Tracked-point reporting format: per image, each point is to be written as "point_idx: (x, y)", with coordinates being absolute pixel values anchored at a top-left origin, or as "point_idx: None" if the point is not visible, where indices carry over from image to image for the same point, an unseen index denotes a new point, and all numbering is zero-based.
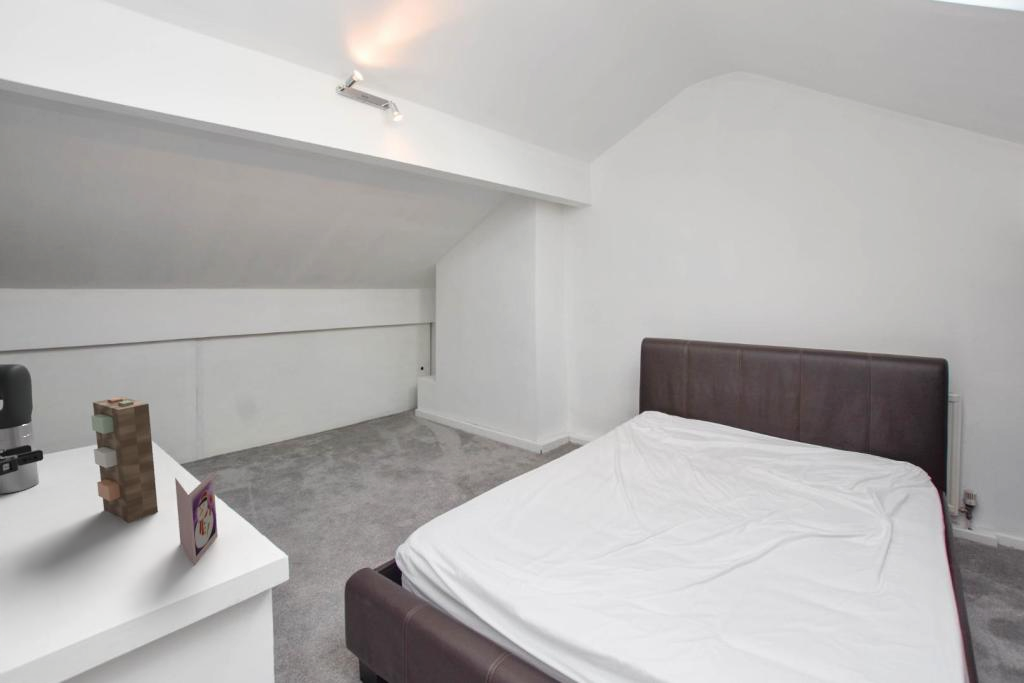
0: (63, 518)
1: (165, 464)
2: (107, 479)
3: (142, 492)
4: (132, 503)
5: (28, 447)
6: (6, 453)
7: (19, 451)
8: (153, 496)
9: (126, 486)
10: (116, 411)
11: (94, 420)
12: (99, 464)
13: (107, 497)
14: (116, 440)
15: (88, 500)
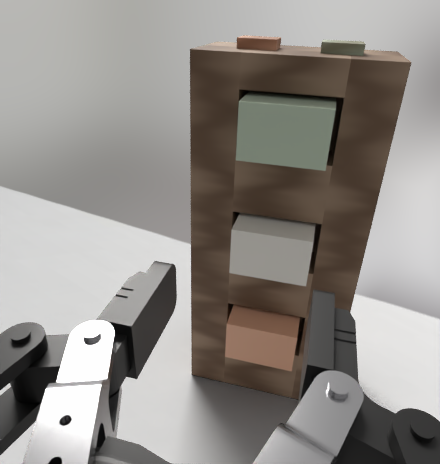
0: (124, 429)
1: (121, 228)
2: (234, 307)
3: None
4: None
5: (170, 275)
6: (128, 345)
7: (158, 309)
8: None
9: None
10: (387, 72)
11: (260, 119)
12: (258, 275)
13: (281, 362)
14: (340, 191)
15: None
